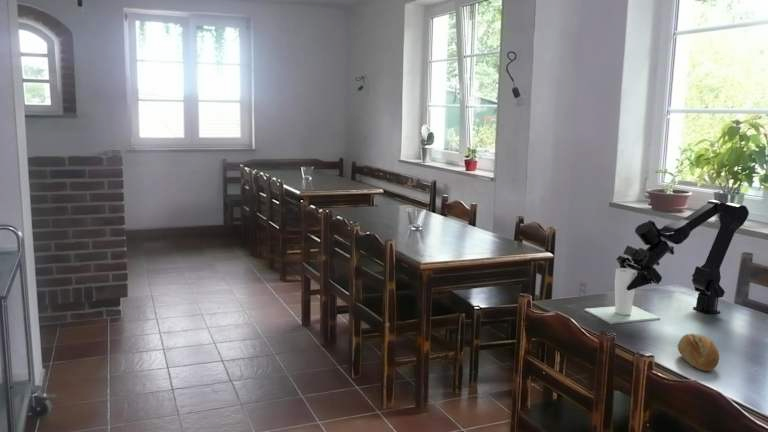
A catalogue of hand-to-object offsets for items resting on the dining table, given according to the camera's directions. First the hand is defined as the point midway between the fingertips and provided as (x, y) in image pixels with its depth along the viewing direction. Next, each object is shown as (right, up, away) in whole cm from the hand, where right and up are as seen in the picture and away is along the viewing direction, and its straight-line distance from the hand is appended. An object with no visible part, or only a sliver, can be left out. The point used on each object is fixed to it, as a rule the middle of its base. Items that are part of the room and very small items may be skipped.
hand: (621, 286), depth 220 cm
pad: (+1, -10, +2) cm, 10 cm away
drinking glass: (+1, -9, +2) cm, 10 cm away
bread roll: (+7, -18, -38) cm, 43 cm away
